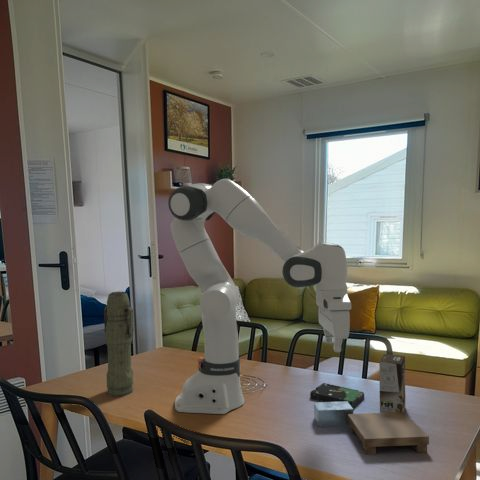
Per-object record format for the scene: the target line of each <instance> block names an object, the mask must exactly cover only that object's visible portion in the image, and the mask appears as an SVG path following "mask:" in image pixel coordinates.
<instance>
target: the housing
mask: <svg viewBox="0 0 480 480" xmlns="http://www.w3.org/2000/svg"><path fill="white" fill-rule="evenodd" d="M348 414H354V408H352V407H351V405H350V404H349V403H348V401H343V402H323V401H319V402H313V418H314V421H315V423H316V426H317V427H318V428H336V427H337V428H339V427H340V428H341V427H342V428H343V427H344V428H345V427H349V422H348Z"/></svg>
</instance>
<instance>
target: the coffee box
mask: <svg viewBox="0 0 480 480" xmlns="http://www.w3.org/2000/svg"><path fill="white" fill-rule="evenodd" d="M405 409H406V356H405V355H398V354H388V353H384V354H383V356H382V357H381V359H380V360H379V413H391V412H405Z"/></svg>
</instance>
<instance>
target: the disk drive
mask: <svg viewBox="0 0 480 480" xmlns="http://www.w3.org/2000/svg"><path fill="white" fill-rule="evenodd" d="M309 395H310V396H309V398H310V399H312V400H315V401H319V402H343V401H348V403H349V404H350V405H351V407H352V408H353V409H355V408H356V406H358V405H359V404H360V403H361V402H362V401H363V400H364V399H365V393H364V392H363V391H361V390H359V389H354V388H353V389H352V388H349V387H345V386H339V385H334V384H331V383H326V382H325V383H324V382H323V383H321V384H320V385H318V386H317V387H315V389H312V390H311V391H310V392H309Z"/></svg>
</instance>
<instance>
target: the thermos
mask: <svg viewBox="0 0 480 480" xmlns="http://www.w3.org/2000/svg"><path fill="white" fill-rule="evenodd" d="M103 320H104V333H105V344H106V346H107V372H106V387H107V395H108V396H110V397H114V398H116V397H117V398H118V397H123V396H124V397H125V396H127V395H130V394H132V393H133V391H134V389H133V384H134V371H133V369H132V345H131V344H132V343H133V337H134V309H133V307H132V306H130V299H129V296H128V293H127V292H126V291H112V292H110V293H108V296H107V300H106V305H105V307H104V309H103Z"/></svg>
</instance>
